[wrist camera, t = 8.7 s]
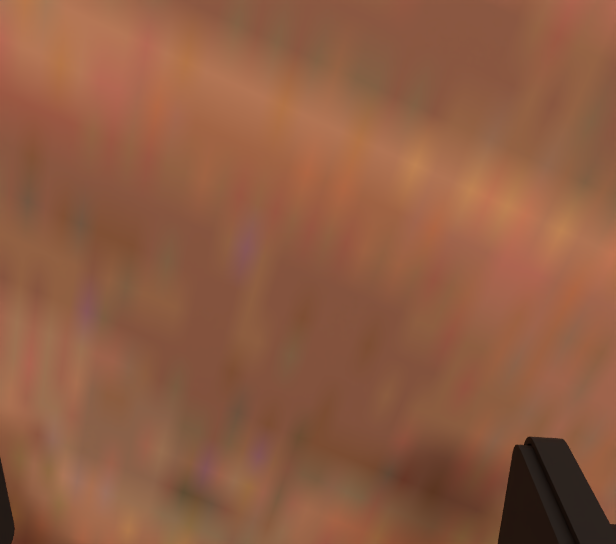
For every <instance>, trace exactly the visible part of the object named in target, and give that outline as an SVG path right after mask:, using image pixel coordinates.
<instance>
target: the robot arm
mask: <svg viewBox="0 0 616 544" xmlns="http://www.w3.org/2000/svg"><path fill="white" fill-rule="evenodd" d="M14 530H15V528H14V521H13V517H12V512H11V507H10V502H9V497H8V492H7V488H6V483H5V478H4V473H3V468H2V464H1V459H0V544H11V543H12V540H13V536H14ZM498 544H616V525H614V524H610V523H609V521H608V519H607V517H606V516H605V514H604V512H603V510H602V508H601V506H600V504H599V503H598V501H597V499H596V497H595V495H594V493H593V491H592V490H591V488H590V486H589V484H588V482H587V480H586V478H585V477H584V475H583V473H582V471H581V469H580V467H579V465H578V463H577V462H576V460H575V458H574V456H573V454H572V452H571V450H570V449H569V447H568V445H567V443H566V442H565V441H564V440H563V439H558V438H542V437H528V438H527V439H526V440H525V443H524V445H515V447H514V449H513V454H512V460H511V466H510V472H509V478H508V484H507V490H506V496H505V503H504V509H503V515H502V521H501V527H500V533H499V539H498Z"/></svg>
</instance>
